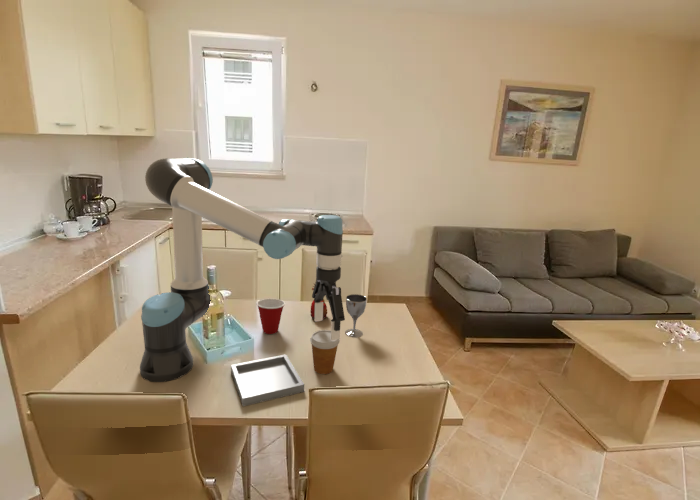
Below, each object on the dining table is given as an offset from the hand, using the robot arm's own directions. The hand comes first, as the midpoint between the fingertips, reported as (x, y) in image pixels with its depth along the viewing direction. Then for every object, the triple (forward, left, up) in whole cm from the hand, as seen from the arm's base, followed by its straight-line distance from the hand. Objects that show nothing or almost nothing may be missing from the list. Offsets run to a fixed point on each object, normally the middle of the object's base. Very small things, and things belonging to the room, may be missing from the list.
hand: (326, 329), depth 123 cm
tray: (-19, 0, -14) cm, 24 cm away
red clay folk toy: (+13, +37, -15) cm, 42 cm away
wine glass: (+21, +19, -15) cm, 32 cm away
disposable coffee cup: (0, 0, -15) cm, 15 cm away
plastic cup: (-9, +32, -15) cm, 37 cm away
